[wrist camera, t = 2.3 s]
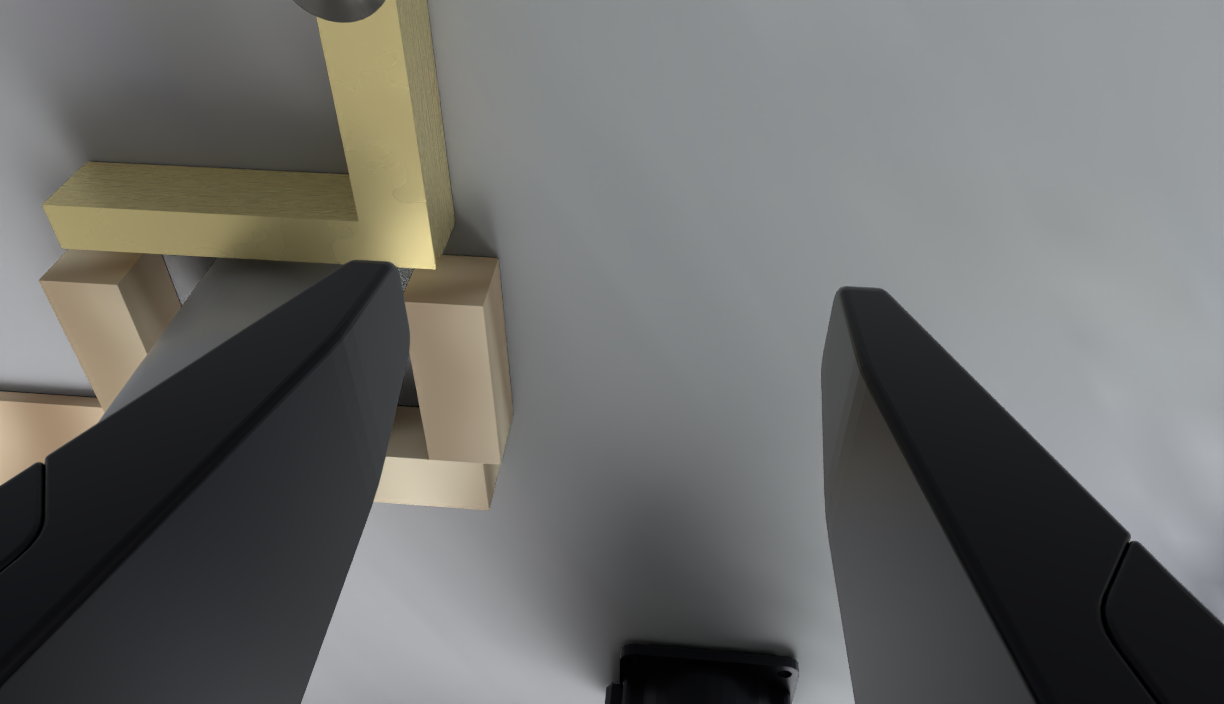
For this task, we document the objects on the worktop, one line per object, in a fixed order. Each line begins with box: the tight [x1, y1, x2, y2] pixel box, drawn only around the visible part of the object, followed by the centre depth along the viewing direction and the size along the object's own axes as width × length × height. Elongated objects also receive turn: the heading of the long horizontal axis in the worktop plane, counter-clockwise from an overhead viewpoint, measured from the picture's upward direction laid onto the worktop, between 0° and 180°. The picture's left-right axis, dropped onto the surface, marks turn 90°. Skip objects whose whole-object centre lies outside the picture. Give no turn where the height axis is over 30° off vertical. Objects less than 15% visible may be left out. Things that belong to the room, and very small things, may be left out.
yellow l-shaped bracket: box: [42, 0, 455, 270], centre depth 19 cm, size 9×9×3 cm
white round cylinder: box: [99, 257, 344, 422], centre depth 22 cm, size 5×5×9 cm
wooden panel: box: [0, 391, 104, 485], centre depth 31 cm, size 9×9×1 cm
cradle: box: [39, 249, 513, 510], centre depth 25 cm, size 11×8×2 cm
